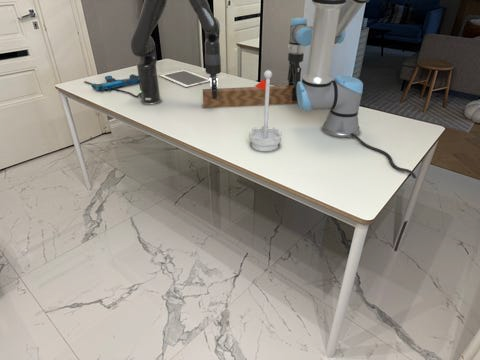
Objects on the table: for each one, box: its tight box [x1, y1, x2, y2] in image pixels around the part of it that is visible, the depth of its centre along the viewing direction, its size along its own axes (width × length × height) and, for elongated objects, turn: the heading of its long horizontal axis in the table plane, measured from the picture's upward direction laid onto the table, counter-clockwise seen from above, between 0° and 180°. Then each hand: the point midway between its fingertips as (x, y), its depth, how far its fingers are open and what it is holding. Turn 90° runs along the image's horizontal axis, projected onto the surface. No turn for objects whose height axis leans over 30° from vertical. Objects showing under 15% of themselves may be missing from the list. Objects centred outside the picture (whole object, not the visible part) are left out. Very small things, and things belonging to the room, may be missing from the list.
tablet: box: [158, 69, 210, 88], centre depth 216 cm, size 32×20×1 cm, turn 41°
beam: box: [202, 84, 298, 109], centre depth 176 cm, size 51×5×8 cm, turn 97°
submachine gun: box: [90, 73, 140, 92], centre depth 207 cm, size 34×4×25 cm
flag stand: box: [248, 69, 283, 152], centre depth 130 cm, size 13×13×30 cm
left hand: (214, 96), depth 173 cm, fingers open, 5 cm apart
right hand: (292, 97), depth 179 cm, fingers open, 8 cm apart
